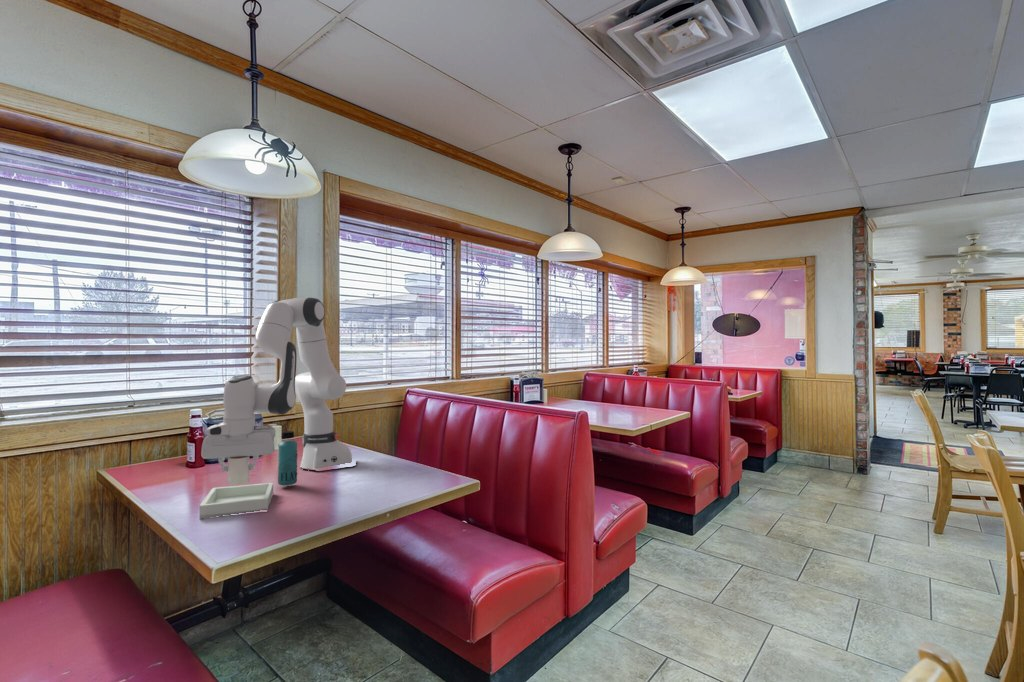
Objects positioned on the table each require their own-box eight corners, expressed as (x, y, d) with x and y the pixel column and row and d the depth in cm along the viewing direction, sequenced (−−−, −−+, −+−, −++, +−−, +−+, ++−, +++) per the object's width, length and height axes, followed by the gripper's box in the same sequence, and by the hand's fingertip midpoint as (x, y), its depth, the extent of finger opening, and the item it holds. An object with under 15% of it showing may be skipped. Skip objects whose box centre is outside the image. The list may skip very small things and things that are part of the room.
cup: (250, 478, 159) (250, 453, 159) (247, 483, 154) (248, 458, 154) (229, 480, 157) (229, 455, 157) (226, 485, 151) (226, 459, 151)
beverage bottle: (277, 491, 171) (278, 433, 170) (277, 485, 177) (277, 430, 176) (298, 488, 174) (298, 432, 173) (296, 483, 180) (297, 429, 179)
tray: (273, 494, 167) (273, 482, 167) (267, 512, 150) (267, 499, 150) (212, 500, 161) (212, 487, 161) (199, 519, 144) (199, 505, 144)
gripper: (276, 423, 162) (275, 465, 162) (204, 426, 155) (204, 470, 155) (274, 426, 156) (273, 470, 156) (200, 430, 149) (199, 475, 149)
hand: (238, 470), depth 155 cm, fingers closed on cup, 6 cm apart
